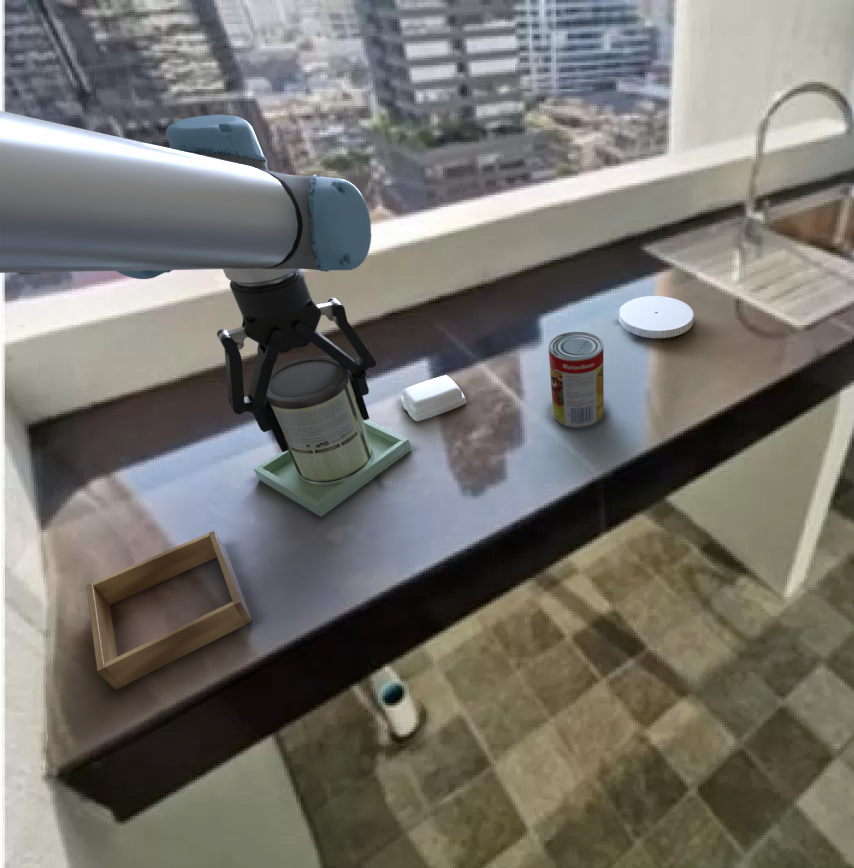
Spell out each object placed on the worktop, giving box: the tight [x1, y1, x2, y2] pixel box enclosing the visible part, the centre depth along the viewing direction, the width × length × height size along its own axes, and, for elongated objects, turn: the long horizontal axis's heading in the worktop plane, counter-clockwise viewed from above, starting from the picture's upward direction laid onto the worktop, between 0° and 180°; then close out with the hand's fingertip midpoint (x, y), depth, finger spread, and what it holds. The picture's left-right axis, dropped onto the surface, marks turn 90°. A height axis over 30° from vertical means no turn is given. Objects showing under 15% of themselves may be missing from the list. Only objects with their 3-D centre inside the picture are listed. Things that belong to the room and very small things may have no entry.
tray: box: [253, 418, 412, 518], centre depth 84 cm, size 16×13×2 cm
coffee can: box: [265, 356, 374, 486], centre depth 80 cm, size 10×10×14 cm
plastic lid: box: [618, 295, 695, 339], centre depth 115 cm, size 14×14×2 cm
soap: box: [400, 374, 467, 422], centre depth 95 cm, size 9×7×3 cm
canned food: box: [548, 331, 605, 429], centre depth 90 cm, size 8×8×12 cm
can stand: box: [85, 530, 253, 691], centre depth 65 cm, size 13×13×4 cm
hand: (324, 429), depth 81 cm, fingers closed on coffee can, 10 cm apart
